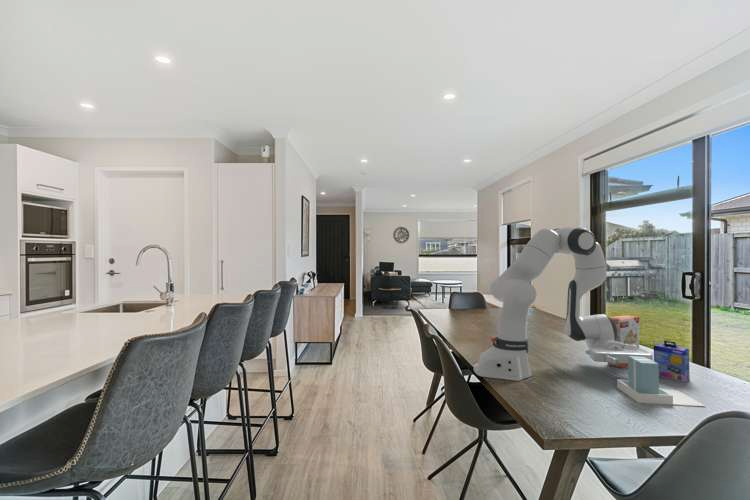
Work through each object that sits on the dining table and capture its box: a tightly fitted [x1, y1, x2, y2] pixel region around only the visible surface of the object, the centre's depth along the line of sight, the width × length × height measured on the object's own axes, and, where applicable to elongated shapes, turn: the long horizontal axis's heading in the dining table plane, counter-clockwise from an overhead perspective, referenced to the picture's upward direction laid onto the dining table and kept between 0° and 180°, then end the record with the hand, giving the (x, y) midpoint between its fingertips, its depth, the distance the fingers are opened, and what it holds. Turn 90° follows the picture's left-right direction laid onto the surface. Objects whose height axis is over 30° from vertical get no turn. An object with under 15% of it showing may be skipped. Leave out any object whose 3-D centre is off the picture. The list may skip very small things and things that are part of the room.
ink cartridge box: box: [653, 339, 691, 383], centre depth 134 cm, size 10×6×14 cm, turn 34°
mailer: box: [616, 378, 706, 408], centre depth 116 cm, size 19×13×3 cm
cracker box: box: [607, 314, 640, 369], centre depth 151 cm, size 14×6×21 cm, turn 115°
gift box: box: [627, 356, 660, 394], centre depth 117 cm, size 5×8×12 cm, turn 170°
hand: (630, 362), depth 125 cm, fingers open, 8 cm apart
